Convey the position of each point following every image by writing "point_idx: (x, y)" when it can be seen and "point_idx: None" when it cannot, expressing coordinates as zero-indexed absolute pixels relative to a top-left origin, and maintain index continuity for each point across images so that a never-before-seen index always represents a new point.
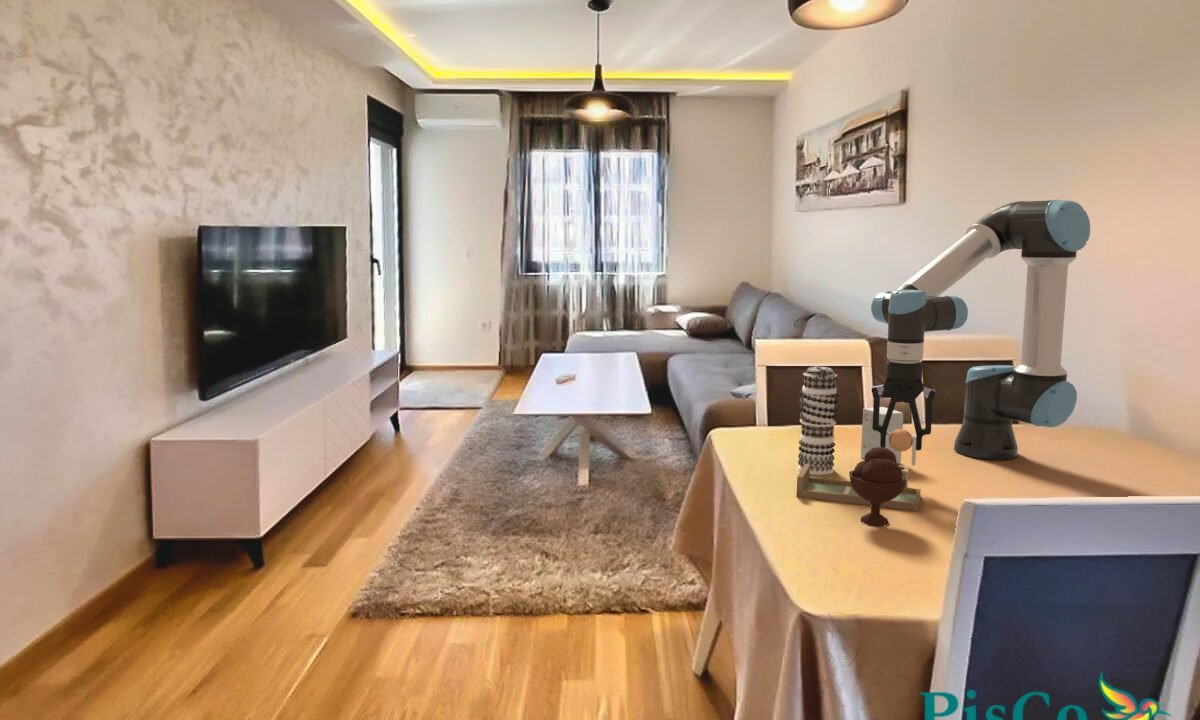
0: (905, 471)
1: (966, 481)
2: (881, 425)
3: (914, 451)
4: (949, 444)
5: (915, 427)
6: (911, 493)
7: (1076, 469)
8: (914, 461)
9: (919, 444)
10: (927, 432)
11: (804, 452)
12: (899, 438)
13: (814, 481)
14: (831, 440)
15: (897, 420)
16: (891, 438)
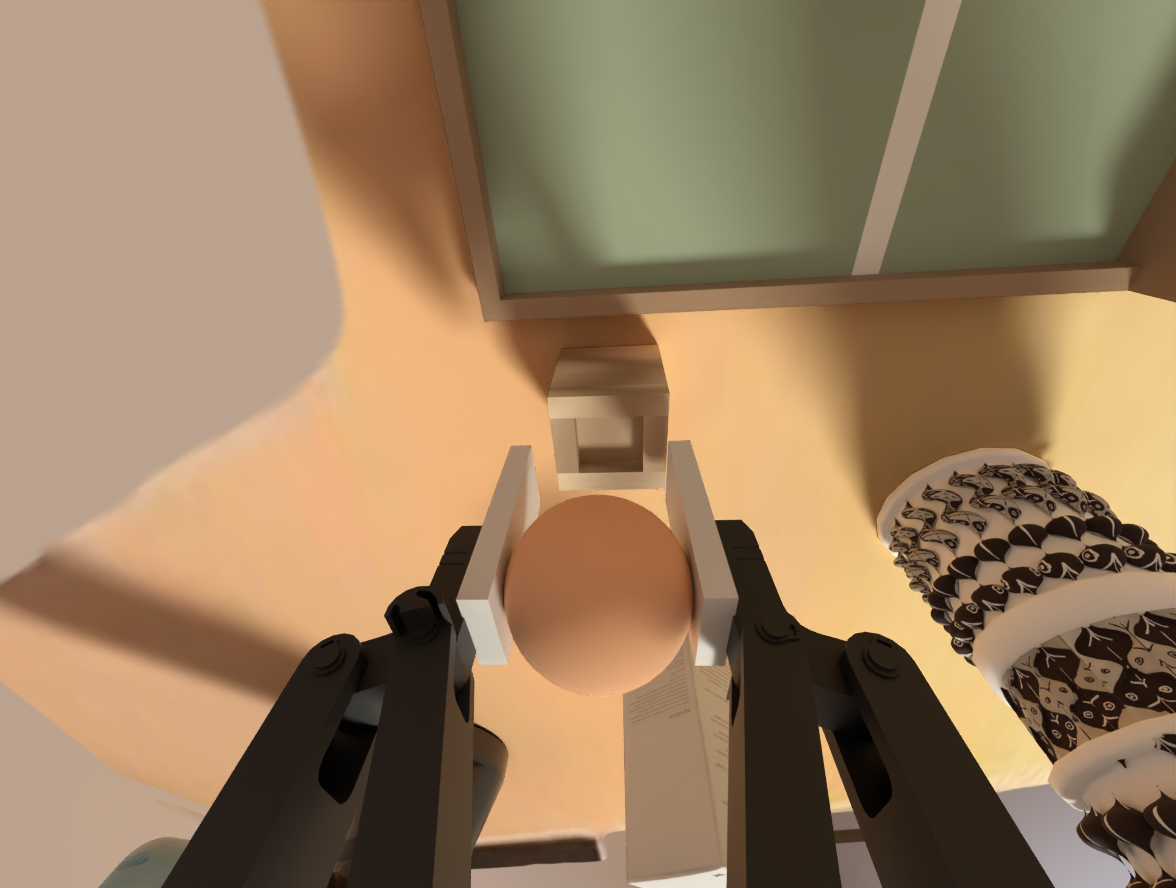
0: (562, 396)
1: (398, 559)
2: (717, 793)
3: (498, 505)
4: (525, 769)
5: (437, 701)
6: (527, 292)
7: (226, 703)
8: (509, 460)
9: (456, 560)
10: (334, 651)
11: (1141, 527)
12: (604, 557)
13: (1084, 263)
14: (1020, 624)
15: (649, 831)
16: (678, 570)
